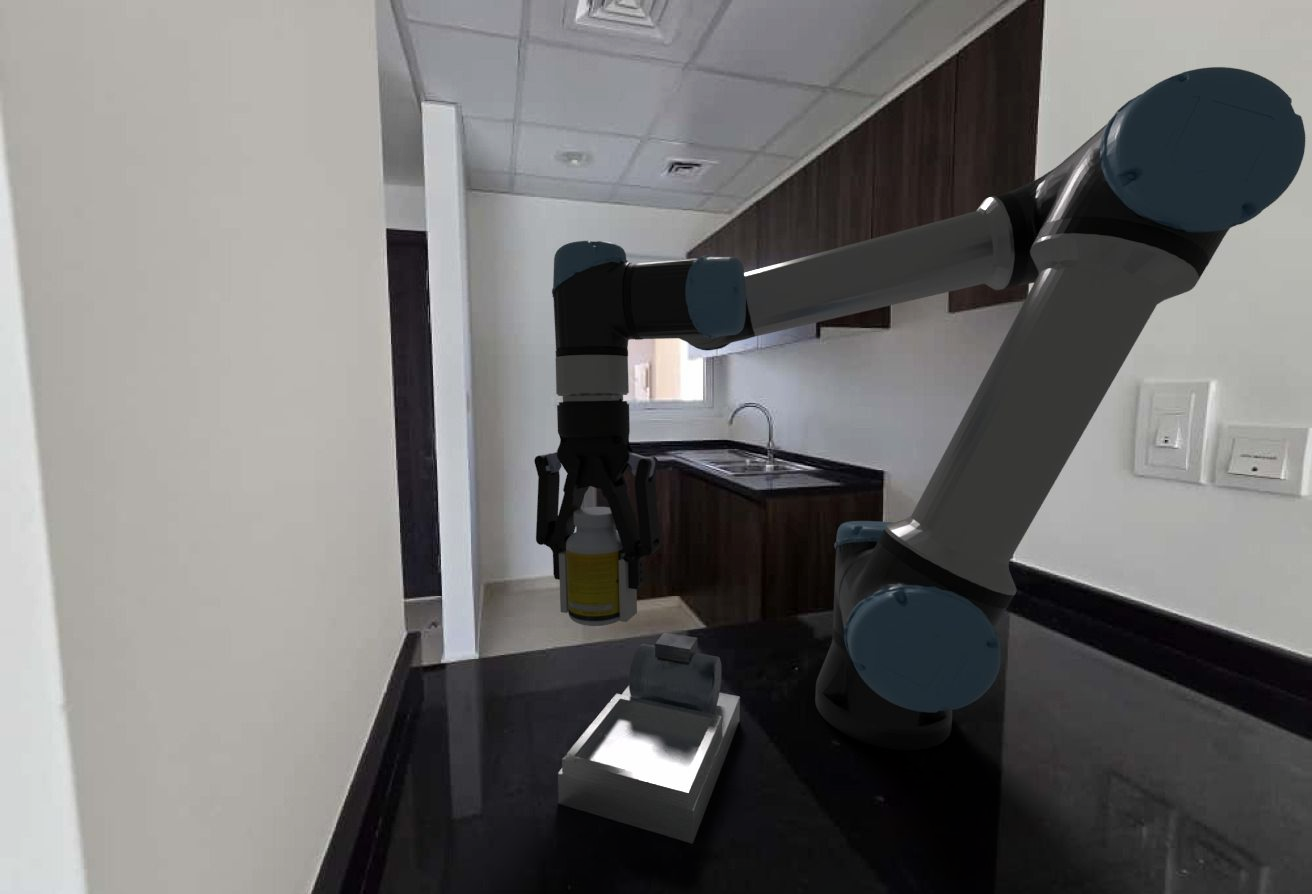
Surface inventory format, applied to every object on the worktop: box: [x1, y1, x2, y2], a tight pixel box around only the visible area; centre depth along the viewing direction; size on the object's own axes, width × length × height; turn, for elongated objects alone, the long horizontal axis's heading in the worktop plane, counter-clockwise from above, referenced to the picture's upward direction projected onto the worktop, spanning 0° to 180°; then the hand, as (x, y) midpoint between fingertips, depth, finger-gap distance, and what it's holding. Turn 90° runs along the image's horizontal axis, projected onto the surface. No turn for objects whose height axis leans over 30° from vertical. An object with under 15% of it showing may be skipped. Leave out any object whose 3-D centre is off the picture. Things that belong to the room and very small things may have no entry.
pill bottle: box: [566, 506, 625, 627], centre depth 60 cm, size 6×6×12 cm
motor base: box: [557, 632, 741, 844], centre depth 58 cm, size 19×13×10 cm
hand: (598, 612), depth 60 cm, fingers closed on pill bottle, 6 cm apart
